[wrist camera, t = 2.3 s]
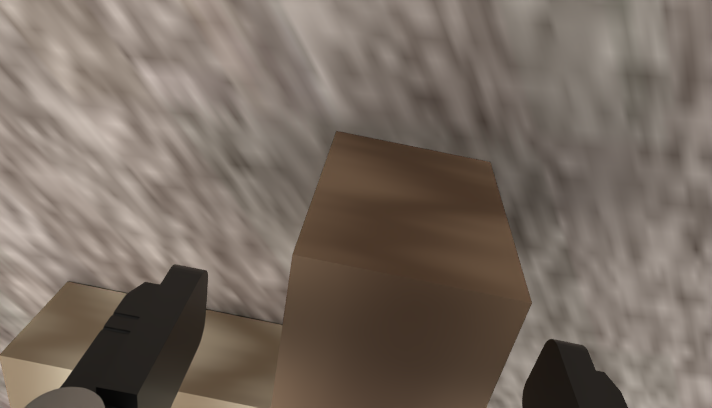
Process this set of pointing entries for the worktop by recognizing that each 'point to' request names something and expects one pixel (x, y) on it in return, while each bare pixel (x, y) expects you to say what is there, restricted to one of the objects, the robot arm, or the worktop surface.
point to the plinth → (87, 318)
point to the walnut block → (400, 283)
